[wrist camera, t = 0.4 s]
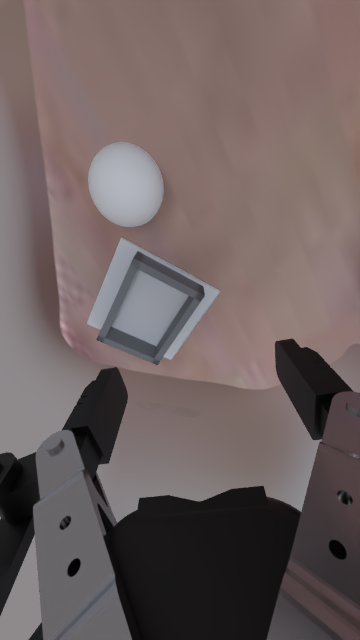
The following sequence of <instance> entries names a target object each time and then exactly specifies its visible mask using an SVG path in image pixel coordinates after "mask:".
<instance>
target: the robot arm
mask: <svg viewBox="0 0 360 640" xmlns="http://www.w3.org/2000/svg"><path fill="white" fill-rule="evenodd" d="M275 359H276V371H277V375H278V378H279V380H280V382H281V384H282V386H283V387H284V389H285V391H286V393H287V394H288V396H289V398H290V400H291V401H292V403H293V405H294V407H295V409H296V411H297V412H298V414H299V416H300V418H301V419H302V421H303V423H304V425H305V427H306V428H307V430H308V432H309V434H310V436H311V437H312V439H313V440H319V439H322V442H320V443H319V446H318V449H317V453H316V458H315V461H314V465H313V469H312V473H311V477H310V481H309V485H308V488H307V493H306V496H305V500H304V504H303V508H302V512H300V511H299V510H297V509H296V508H294V507H292V506H291V505H289V504H287V503H284V502H282V501H280V500H277V499H274V498H270V497H266V493H265V490H264V486H258V487H248V488H238V489H231V490H228V491H226V492H223V493H221V494H218V495H216V496H214V497H212V498H209V499H207V500H204V501H200V502H197V501H193V500H188V499H183V498H179V497H174V496H170V495H166V496H157V497H146V498H140V499H139V504H138V510H136V511H134V512H132V513H131V514H129V515H127V516H126V517H124V518H123V519H122V520H120V521H119V522H118V523H117V521H116V519H115V517H114V515H113V513H112V510H111V507H110V505H109V502H108V500H107V497H106V495H105V492H104V490H103V487H102V484H101V482H100V479H99V477H98V474H97V472H96V471H97V468H98V465H99V464H107V463H109V461H110V457H111V454H112V451H113V447H114V444H115V441H116V437H117V434H118V430H119V427H120V424H121V420H122V417H123V414H124V411H125V407H126V404H127V399H128V394H127V390H126V387H125V384H124V382H123V379H122V377H121V374H120V372H119V370H118V368H117V367H114V368H108V369H102V370H101V371H100V373H99V375H98V376H97V378H96V380H95V381H92V382H91V383H90V384H89V385H88V386H87V387H86V388H85V389H84V391H83V393H82V395H81V398H80V399H79V400H78V402H77V405H76V406H75V407H74V409H73V411H72V413H71V414H70V417H69V418H68V420H67V422H66V424H65V425H64V427H63V429H62V431H58V432H56V433H54V434H52V435H51V436H50V437H48V438H47V439H46V440H45V441H44V442H43V443H42V444H41V446H40V447H39V448H38V450H37V452H35V453H33V454H30V455H28V456H26V457H23V458H21V459H18V460H17V458H16V457H15V456H14V455H13V454H12V453H3V454H0V517H1V520H0V615H1V613H2V611H3V608H4V606H5V603H6V601H7V599H8V596H9V594H10V592H11V589H12V587H13V584H14V582H15V579H16V577H17V575H18V572H19V570H20V567H21V565H22V563H23V561H24V558H25V556H26V554H27V551H28V548H29V546H30V544H31V542H32V539H33V537H34V534H35V542H36V555H37V567H38V578H39V592H40V604H41V616H42V622H41V624H40V625H39V626H38V628H37V629H36V630H35V632H34V633H33V635H32V636H31V637H30V639H29V640H360V393H357V392H353V390H351V388H350V387H349V386H348V385H347V384H346V383H345V382H344V381H343V380H342V379H341V378H340V376H339V375H338V374H337V373H336V372H335V371H334V370H333V369H332V368H330V366H329V365H328V364H327V362H325V361H324V359H323V358H322V357H321V356H320V355H319V354H318V353H317V352H315V351H313V350H311V349H309V348H308V347H304V348H300V346H299V345H298V344H297V343H296V342H295V340H294V339H287V340H281V341H276V342H275Z"/></svg>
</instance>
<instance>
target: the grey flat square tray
mask: <svg viewBox="0 0 360 640" xmlns="http://www.w3.org/2000/svg"><path fill="white" fill-rule="evenodd" d="M219 293H220V290H218V289H217V288H215V287H213V286H211V285H209V284H207V283H206V282H204V281H202V280H200V279H198V278H196V277H195V276H193V275H191V274H189V273H187V272H185V271H184V270H182V269H180V268H178V267H176V266H174V265H172V264H171V263H169V262H167V261H165V260H163V259H161V258H160V257H158V256H156V255H154V254H152V253H150V252H149V251H147V250H145V249H143V248H141V247H139V246H138V245H136V244H134V243H132V242H130V241H128V240H127V239H125V238H123V237H121V239H120V242H119V244H118V247H117V249H116V252H115V254H114V257H113V259H112V262H111V264H110V267H109V269H108V272H107V274H106V277H105V279H104V282H103V284H102V287H101V289H100V292H99V294H98V297H97V299H96V302H95V304H94V307H93V309H92V312H91V314H90V317H89V319H88V322H87V324H88V325H90V326H92V327H95V328H97V329H99V330H101V331H100V333H99V335H98V338H97V340H98V341H101V342H103V343H105V344H108V345H110V346H113V347H115V348H117V349H120V350H122V351H125V352H127V353H130V354H132V355H134V356H137V357H139V358H142V359H144V360H146V361H149V362H151V363H154V364H156V365H158V363H159V362H160V360H161V359H162V358H163V357H165V358H167V359H170V360H171V359H172V358H173V357H174V355H175V354H176V352H177V351H178V350H179V348H180V347H181V345H182V344H183V343H184V341H185V340H186V338H187V337H188V336H189V334H190V333H191V331H192V330H193V329H194V327H195V326H196V325H197V323H198V322H199V320H200V319H201V318H202V316H203V315H204V313H205V312H206V311H207V309H208V308H209V306H210V305H211V304H212V302H213V301H214V300H215V298H216V297H217V295H218V294H219Z"/></svg>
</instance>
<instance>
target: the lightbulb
mask: <svg viewBox="0 0 360 640" xmlns="http://www.w3.org/2000/svg"><path fill="white" fill-rule="evenodd" d="M88 184H89V191H90V195H91V197H92V200H93V202H94V204H95V206H96V207H97V209H98V210H99V211H100V212H101V214H102V215H103V216H104V217H105V218H107V219H108V220H109V221H111V222H113V223H114V224H117V225H119V226H123V227H138V226H141V225H144V224H145V223H147V222H149V221H150V220H151V219H152V218H153V217H154V216H155V215H156V213H157V212H158V210H159V208H160V206H161V204H162V200H163V194H164V185H163V179H162V175H161V172H160V170H159V167H158V165H157V164H156V162H155V161H154V159H153V158H152V157H151V156H150V155H149V154H148V153H147V152H146V151H145V150H143V149H142V148H141V147H139V146H137V145H134V144H132V143H127V142H115V143H112V144H109V145H107V146H106V147H104V148H103V149H101V150H100V151H99V152H98V153H97V154H96V155H95V157H94V159H93V161H92V162H91V166H90V169H89V175H88Z"/></svg>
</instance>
